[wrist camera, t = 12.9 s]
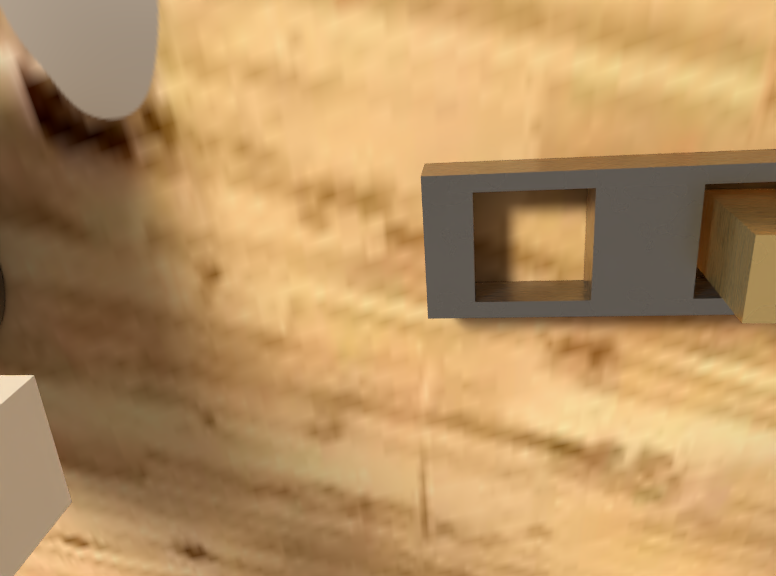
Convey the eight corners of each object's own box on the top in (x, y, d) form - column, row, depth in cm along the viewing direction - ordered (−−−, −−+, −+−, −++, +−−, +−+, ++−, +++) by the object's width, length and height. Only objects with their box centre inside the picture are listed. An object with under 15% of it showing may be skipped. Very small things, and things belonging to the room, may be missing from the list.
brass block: (704, 189, 40) (755, 234, 33) (790, 188, 39) (861, 233, 32) (695, 264, 42) (741, 323, 34) (776, 264, 41) (841, 323, 34)
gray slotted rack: (431, 298, 44) (428, 318, 42) (424, 163, 41) (420, 176, 38) (844, 291, 41) (870, 313, 38) (872, 145, 38) (903, 157, 35)
